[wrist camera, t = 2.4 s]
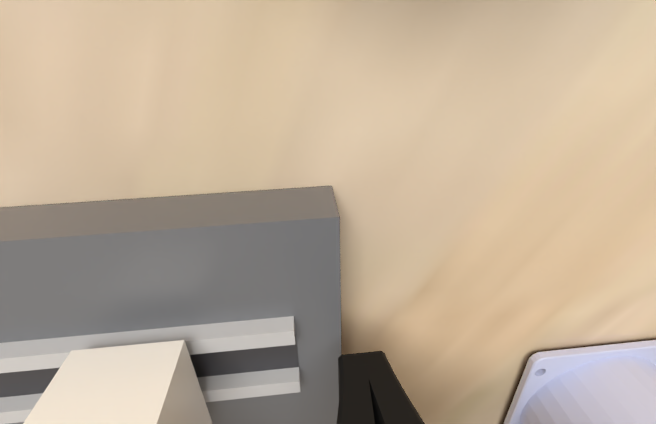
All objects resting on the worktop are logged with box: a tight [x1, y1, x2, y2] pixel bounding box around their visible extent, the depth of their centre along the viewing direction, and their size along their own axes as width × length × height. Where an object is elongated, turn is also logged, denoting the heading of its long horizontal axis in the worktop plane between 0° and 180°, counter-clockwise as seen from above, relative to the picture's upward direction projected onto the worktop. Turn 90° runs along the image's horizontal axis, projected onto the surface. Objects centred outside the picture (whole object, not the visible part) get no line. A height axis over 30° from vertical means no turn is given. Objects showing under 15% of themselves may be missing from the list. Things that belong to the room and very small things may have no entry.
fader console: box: [0, 186, 341, 424], centre depth 12 cm, size 10×20×3 cm, turn 92°
